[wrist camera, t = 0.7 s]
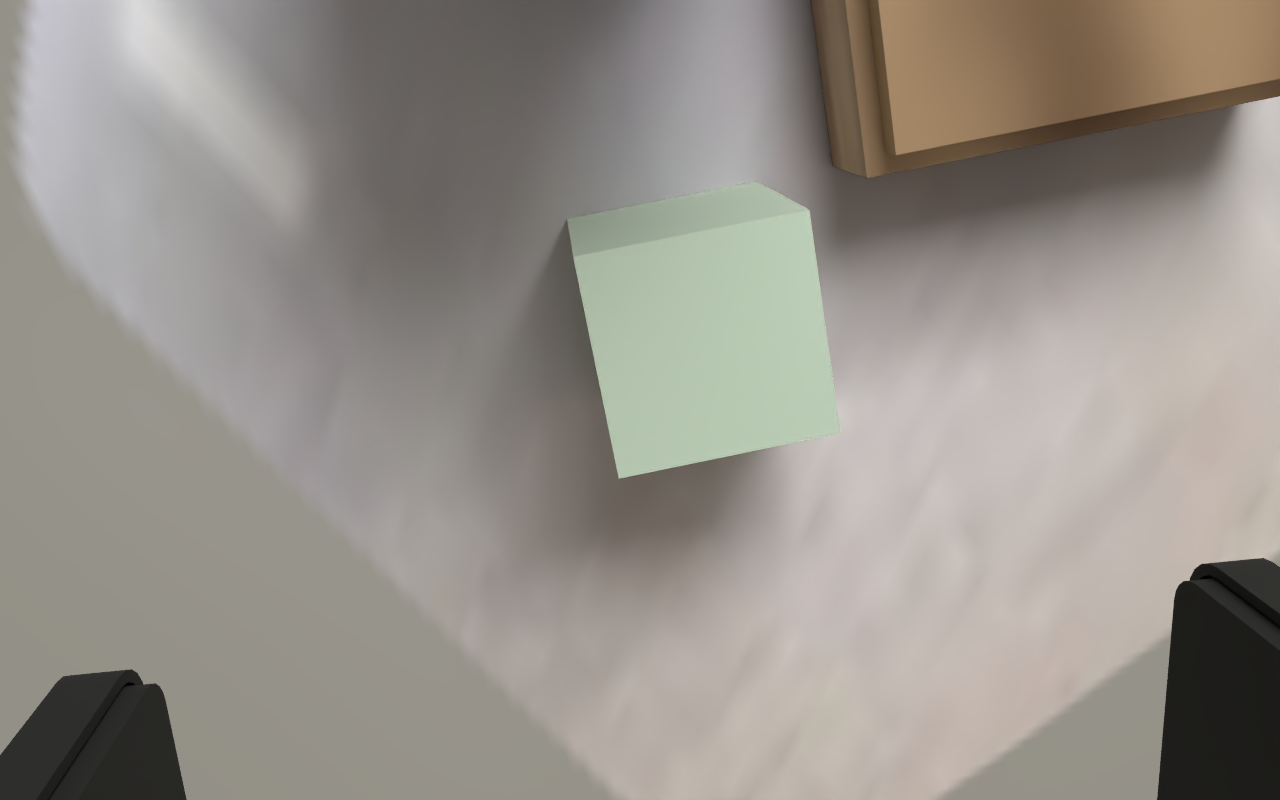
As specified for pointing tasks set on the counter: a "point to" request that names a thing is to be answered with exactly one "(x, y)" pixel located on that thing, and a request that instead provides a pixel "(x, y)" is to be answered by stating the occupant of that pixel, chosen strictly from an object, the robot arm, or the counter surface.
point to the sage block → (705, 326)
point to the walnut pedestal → (1027, 71)
